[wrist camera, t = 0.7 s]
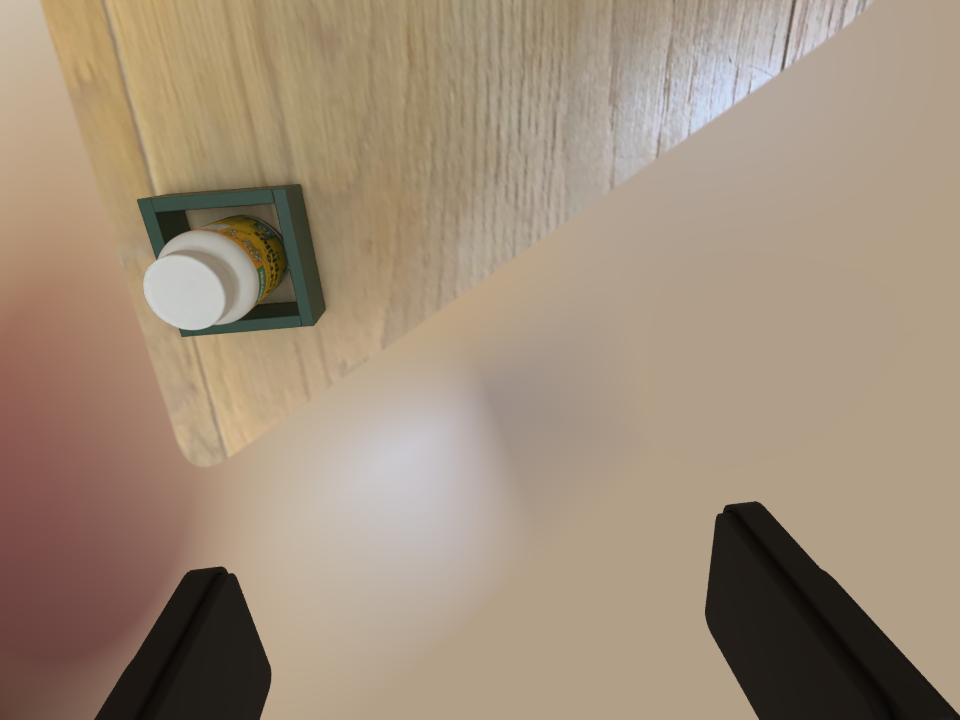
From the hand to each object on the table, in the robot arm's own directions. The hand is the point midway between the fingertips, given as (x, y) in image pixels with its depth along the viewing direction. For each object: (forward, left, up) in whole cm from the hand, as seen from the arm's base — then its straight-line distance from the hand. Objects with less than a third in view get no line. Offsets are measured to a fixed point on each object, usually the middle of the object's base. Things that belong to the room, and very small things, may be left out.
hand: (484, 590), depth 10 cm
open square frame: (-2, -14, -28) cm, 31 cm away
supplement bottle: (-2, -14, -28) cm, 31 cm away
